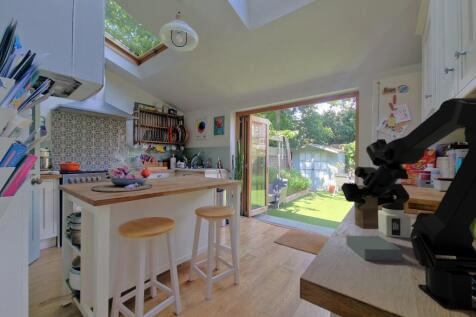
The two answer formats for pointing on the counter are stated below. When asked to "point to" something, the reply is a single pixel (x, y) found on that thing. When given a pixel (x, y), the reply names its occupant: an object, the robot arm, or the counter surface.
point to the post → (367, 213)
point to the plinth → (374, 248)
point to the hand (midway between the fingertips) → (363, 206)
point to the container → (394, 221)
